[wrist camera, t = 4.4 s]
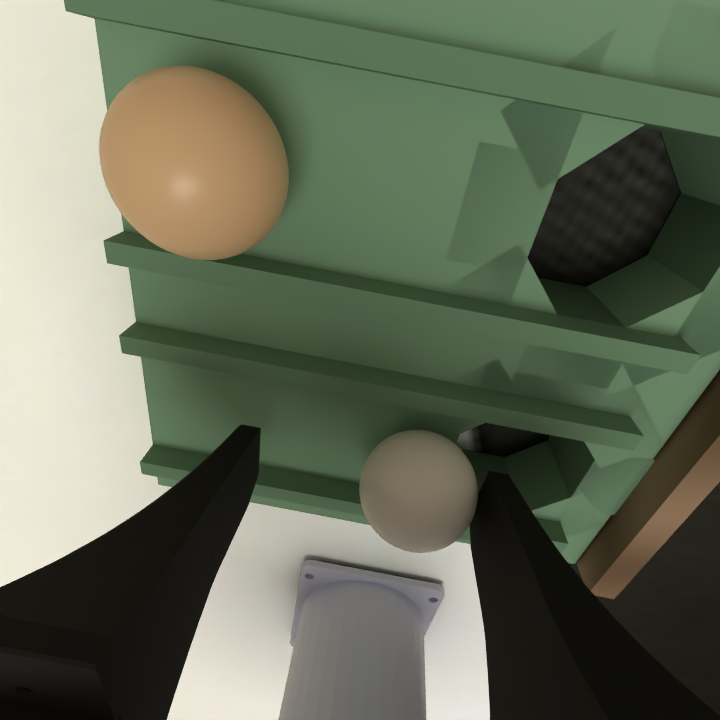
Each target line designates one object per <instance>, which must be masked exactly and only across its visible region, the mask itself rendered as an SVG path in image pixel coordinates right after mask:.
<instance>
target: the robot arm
mask: <svg viewBox="0 0 720 720" xmlns="http://www.w3.org/2000/svg"><path fill="white" fill-rule="evenodd" d="M260 434H261V428H259V427H253V426H248V425H243V424H241V425H240V426H238V427H237V428H236V429H235V430H234V431H233V432H232V433H231V434H230V435H229V436H228V437H227V438H226V439H225V440H224V441H223V442H222V443H221V444H220V445H219V446H218V447H217V448H216V449H215V450H214V451H213V452H212V453H211V454H210V455H209V456H208V457H207V458H206V459H205V460H203V461H202V462H201V463H200V464H199V465H198V466H197V467H196V468H195V469H194V470H192V471H191V472H190V473H189V474H188V475H186V476H185V477H184V478H183V479H182V480H180V481H179V482H178V483H177V484H176V485H174V486H173V487H172V488H171V489H169V490H168V491H167V492H166V493H164V494H163V495H162V496H160V497H159V498H158V499H156V500H155V501H154V502H152V503H151V504H149V505H148V506H147V507H145V508H144V509H142V510H141V511H140V512H138V513H137V514H135V515H134V516H132V517H131V518H129V519H127V520H126V521H124V522H123V523H121V524H120V525H118V526H117V527H115V528H114V529H112V530H110V531H109V532H107V533H105V534H104V535H102V536H100V537H99V538H97V539H95V540H93V541H92V542H90V543H88V544H86V545H84V546H82V547H81V548H79V549H77V550H75V551H73V552H72V553H70V554H68V555H66V556H64V557H63V558H61V559H59V560H57V561H55V562H53V563H51V564H49V565H47V566H45V567H43V568H40V569H38V570H36V571H34V572H32V573H30V574H28V575H26V576H24V577H22V578H19V579H17V580H15V581H13V582H11V583H9V584H6V585H4V586H2V587H0V720H167V716H168V713H169V710H170V707H171V704H172V701H173V697H174V694H175V691H176V688H177V685H178V682H179V679H180V676H181V673H182V670H183V667H184V664H185V661H186V658H187V655H188V652H189V649H190V646H191V643H192V640H193V637H194V635H195V632H196V629H197V626H198V623H199V620H200V617H201V614H202V612H203V609H204V606H205V603H206V600H207V598H208V595H209V592H210V589H211V586H212V584H213V582H214V579H215V577H216V574H217V572H218V570H219V568H220V565H221V563H222V561H223V559H224V557H225V555H226V552H227V550H228V548H229V546H230V544H231V542H232V539H233V537H234V535H235V533H236V531H237V529H238V527H239V524H240V522H241V520H242V518H243V516H244V513H245V511H246V509H247V507H248V505H249V502H250V499H251V496H252V493H253V490H254V487H255V484H256V481H257V478H258V475H259V458H260ZM470 542H471V551H472V557H473V564H474V570H475V576H476V582H477V587H478V593H479V599H480V605H481V611H482V617H483V624H484V631H485V640H486V654H487V667H488V684H489V702H490V720H720V716H719V715H718V714H717V713H716V712H714V711H713V710H712V709H711V708H710V707H709V706H707V705H706V704H705V703H704V702H703V701H702V700H700V699H699V698H698V697H697V696H696V695H694V694H693V693H692V692H691V691H690V690H689V689H687V688H686V687H685V686H684V685H683V684H682V683H681V682H679V681H678V680H677V679H676V678H675V677H674V676H673V675H672V674H671V673H670V672H669V671H668V670H666V669H665V668H664V667H663V666H662V665H661V664H660V663H659V662H658V661H657V660H656V659H655V658H654V657H653V656H651V655H650V654H649V653H648V652H647V651H646V650H645V649H644V648H643V647H642V646H641V645H640V644H639V643H638V642H637V641H636V640H635V639H634V638H633V637H632V636H631V635H630V634H629V633H628V631H627V630H626V629H625V628H624V627H623V626H622V625H621V624H620V623H619V622H618V621H617V620H616V619H615V618H614V617H613V616H612V615H611V614H610V613H609V611H608V610H607V609H606V608H605V607H604V606H603V605H602V604H601V603H600V601H599V600H598V599H597V598H596V597H595V596H594V594H593V593H592V592H591V591H590V590H589V588H588V587H587V586H586V585H585V584H584V583H583V581H582V580H581V579H580V578H579V576H578V575H577V574H576V573H575V571H574V570H573V569H572V568H571V566H570V565H569V564H568V562H567V561H566V560H565V558H564V557H563V556H562V554H561V553H560V552H559V550H558V549H557V548H556V546H555V545H554V543H553V542H552V541H551V539H550V538H549V536H548V535H547V533H546V532H545V530H544V529H543V527H542V526H541V525H540V523H539V522H538V520H537V519H536V517H535V515H534V514H533V512H532V511H531V509H530V508H529V506H528V505H527V503H526V502H525V500H524V498H523V497H522V495H521V494H520V492H519V491H518V489H517V487H516V486H515V484H514V483H513V481H512V480H511V478H510V476H509V475H508V474H503V473H498V472H492V471H489V472H488V474H487V476H486V478H485V480H484V482H483V485H482V487H481V489H480V491H479V493H478V502H477V507H476V512H475V514H474V517H473V520H472V522H471V523H470ZM443 597H444V588H443V587H442V586H441V585H439V584H436V583H431V582H425V581H420V580H415V579H410V578H404V577H399V576H394V575H389V574H383V573H378V572H373V571H368V570H362V569H357V568H352V567H347V566H342V565H336V564H331V563H326V562H321V561H315V560H306V561H304V562H303V564H302V569H301V575H300V582H299V588H298V595H297V601H296V608H295V615H294V621H293V628H292V634H291V641H290V644H291V645H292V646H293V647H294V648H293V653H292V658H291V663H290V667H289V672H288V677H287V682H286V686H285V691H284V696H283V701H282V705H281V710H280V715H279V720H426V689H425V654H424V635H425V633H426V631H427V629H428V627H429V625H430V623H431V621H432V619H433V617H434V615H435V613H436V611H437V609H438V607H439V605H440V603H441V601H442V599H443Z"/></svg>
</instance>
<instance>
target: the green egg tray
mask: <svg viewBox="0 0 720 720" xmlns="http://www.w3.org/2000/svg"><path fill="white" fill-rule="evenodd" d="M64 3H65V9H66V11H68V12H72V13H76V14H80V15H83V16H87V17H91V18H95V24H96V32H97V39H98V46H99V54H100V61H101V68H102V75H103V83H104V90H105V97H106V105H107V111H108V109H109V107H110V105H111V103H112V101H113V100H114V99H115V97H116V96H117V94H118V93H119V92H120V91H121V90H122V89H123V88H124V87H125V86H126V85H127V84H128V83H130V82H131V81H132V80H134V79H135V78H137V77H138V76H140V75H142V74H145V73H147V72H149V71H152V70H154V69H158V68H162V67H167V66H192V67H199V68H202V69H206V70H210V71H213V72H215V73H218V74H220V75H222V76H225V77H227V78H228V79H230V80H232V81H233V82H235V83H237V84H238V85H240V86H241V87H242V88H243V89H245V90H246V91H247V92H248V93H250V94H251V95H252V96H253V97H254V98H255V99H256V100H257V101H258V102H259V103H260V104H261V106H262V107H263V108H264V109H265V111H266V112H267V113H268V115H269V116H270V118H271V119H272V121H273V123H274V124H275V126H276V128H277V130H278V132H279V134H280V136H281V139H282V142H283V145H284V148H285V152H286V156H287V160H288V169H289V185H288V193H287V198H286V202H285V205H284V208H283V211H282V213H281V216H280V218H279V219H278V221H277V223H276V224H275V226H274V227H273V229H272V230H271V231H270V232H269V234H268V235H267V236H266V237H265V238H264V239H263V240H262V241H261V242H260V243H258V244H257V245H255V246H254V247H252V248H251V249H249V250H248V251H246V252H243V253H241V254H239V255H236V256H232V257H229V258H225V259H218V260H198V259H190V258H187V257H183V256H179V255H176V254H174V253H171V252H169V251H166V250H164V249H162V248H160V247H158V246H157V245H155V244H154V243H152V242H150V241H149V240H148V239H146V238H145V237H144V236H143V235H141V234H140V233H139V232H138V231H137V230H136V229H135V228H134V227H133V226H132V225H131V224H130V223H129V222H128V221H127V220H126V219H125V217H124V216H123V215H122V221H123V229H124V232H121V233H119V234H117V235H115V236H113V237H110V238H108V239H106V240H104V246H105V252H106V258H107V263H109V264H114V265H120V266H125V267H129V273H130V280H131V287H132V294H133V302H134V309H135V316H136V322H135V323H134V324H133V325H132V326H130V327H129V328H128V329H127V330H126V331H124V332H123V333H122V334H121V335H119V337H120V343H121V349H122V353H124V354H130V355H135V356H140V357H141V360H142V367H143V375H144V382H145V389H146V397H147V404H148V411H149V419H150V426H151V433H152V440H153V445H152V447H151V448H150V449H149V451H148V452H147V453H146V455H145V456H144V457H143V459H142V460H141V461H140V465H141V471H142V474H146V475H151V476H156V477H158V484H159V485H164V486H169V487H173V486H174V485H176V484H177V483H178V482H179V481H180V480H182V479H183V478H184V477H185V476H186V475H188V474H189V473H190V472H191V471H192V470H194V469H195V468H196V467H197V466H198V465H199V464H200V463H201V462H202V461H203V460H205V459H206V458H207V457H208V456H209V455H210V454H211V453H212V452H213V451H214V450H215V449H216V448H217V447H218V446H219V445H220V444H221V443H222V442H223V441H224V440H225V439H226V438H227V437H228V436H229V435H230V434H231V433H232V432H233V431H234V430H235V429H236V428H237V427H238V426H240V425H241V424H243V425H248V426H253V427H259V428H261V434H260V458H259V475H258V478H257V481H256V484H255V487H254V490H253V493H252V496H251V499H250V502H253V503H258V504H264V505H269V506H274V507H279V508H284V509H290V510H295V511H300V512H305V513H311V514H316V515H321V516H326V517H332V518H337V519H342V520H347V521H353V522H358V523H363V524H368V525H370V523H369V522H368V520H367V518H366V516H365V514H364V512H363V509H362V505H361V501H360V494H359V484H360V476H361V473H362V469H363V466H364V464H365V462H366V460H367V458H368V456H369V455H370V453H371V452H372V451H373V449H374V448H375V447H376V446H377V445H378V444H379V443H380V442H382V441H383V440H384V439H386V438H388V437H389V436H391V435H393V434H396V433H399V432H402V431H407V430H427V431H431V432H434V433H437V434H439V435H442V436H444V437H446V438H447V439H449V440H450V441H452V442H453V443H454V444H456V445H457V446H458V447H459V448H460V446H459V445H458V444H457V439H458V436H459V434H460V433H463V432H465V431H467V430H470V429H472V428H474V427H477V426H479V425H481V424H483V423H490V424H495V425H501V426H506V427H511V428H516V429H521V430H527V431H532V432H537V433H542V434H548V435H550V436H549V438H548V440H547V441H544V442H542V443H539V444H537V445H534V446H532V447H529V448H527V449H524V450H522V451H519V452H517V453H514V454H511V455H509V456H506V457H501V456H496V455H490V454H485V453H480V452H475V451H469V450H464V449H461V448H460V449H461V450H462V452H463V453H464V454H465V455H466V457H467V458H468V460H469V462H470V463H471V465H472V467H473V470H474V472H475V476H476V479H477V485H478V493H479V491H480V489H481V487H482V485H483V482H484V480H485V478H486V476H487V474H488V472H489V471H492V472H498V473H503V474H508V475H509V476H510V478H511V480H512V481H513V483H514V484H515V486H516V487H517V489H518V491H519V492H520V494H521V495H522V497H523V498H524V500H525V502H526V503H527V505H528V506H529V508H530V509H531V511H532V512H533V514H534V515H535V517H536V519H537V520H538V522H539V523H540V525H541V526H542V527H543V529H544V530H545V532H546V533H547V535H548V536H549V538H550V539H551V541H552V542H553V543H554V545H555V546H556V548H557V549H558V550H559V552H560V553H561V554H562V556H563V557H564V558H565V560H566V561H567V562H568V563H572V564H575V563H576V562H577V560H578V559H579V558H580V556H581V555H582V554H583V552H584V551H585V549H586V548H587V547H588V545H589V544H590V543H591V541H592V540H593V539H594V537H595V536H596V535H597V533H598V532H599V531H600V529H601V528H602V527H603V526H604V524H605V523H606V521H607V520H608V519H609V517H610V516H611V515H615V513H616V512H617V511H618V509H619V508H620V507H621V505H622V504H623V503H624V501H625V500H626V499H627V497H628V496H629V495H630V493H631V492H632V491H633V490H634V488H635V487H636V486H637V484H638V483H639V482H640V480H641V479H642V478H643V476H644V475H645V474H646V472H647V471H648V470H649V468H650V467H651V466H652V464H653V463H654V462H655V459H654V457H655V456H656V454H657V453H658V452H659V450H660V449H661V448H662V446H664V444H665V442H666V441H667V440H668V438H669V437H670V436H671V434H672V433H673V432H674V430H675V429H676V428H677V426H678V425H679V423H680V422H681V421H682V419H683V418H684V417H685V415H686V414H687V413H688V411H689V410H690V409H691V407H692V406H693V405H694V403H695V402H696V401H697V399H698V398H699V397H700V395H701V394H702V393H703V391H704V390H705V389H706V387H707V386H708V385H709V383H710V382H711V381H712V379H713V378H714V377H715V375H716V374H717V373H718V371H719V370H720V0H64ZM638 128H640V129H645V130H651V131H656V132H661V134H662V137H663V140H664V143H665V146H666V149H667V152H668V155H669V158H670V161H671V164H672V167H673V170H674V173H675V176H676V179H677V182H678V185H679V188H680V191H681V194H680V196H679V198H678V200H677V201H676V203H675V205H674V207H673V209H672V211H671V213H670V214H669V216H668V218H667V220H666V222H665V224H664V225H663V227H662V229H661V231H660V233H659V235H658V237H657V238H656V240H655V242H654V244H653V246H652V248H651V250H650V251H649V253H648V255H647V256H645V257H643V258H641V259H639V260H637V261H636V262H634V263H632V264H630V265H628V266H626V267H624V268H622V269H620V270H618V271H616V272H614V273H612V274H610V275H608V276H606V277H605V278H603V279H601V280H599V281H597V282H595V283H593V284H591V285H589V286H587V287H585V286H580V285H575V284H570V283H564V282H559V281H554V280H549V279H544V278H538V277H537V275H536V273H535V271H534V269H533V268H532V266H531V264H530V262H529V260H528V258H527V257H528V255H529V252H530V250H531V247H532V244H533V242H534V239H535V237H536V234H537V231H538V229H539V226H540V224H541V221H542V219H543V216H544V213H545V211H546V208H547V206H548V203H549V200H550V198H551V195H552V193H553V190H554V187H555V185H556V182H557V180H558V179H559V178H560V177H562V176H563V175H565V174H567V173H568V172H570V171H571V170H573V169H575V168H576V167H578V166H579V165H581V164H583V163H584V162H586V161H587V160H589V159H591V158H592V157H594V156H595V155H597V154H598V153H600V152H602V151H603V150H605V149H606V148H608V147H610V146H611V145H613V144H614V143H616V142H618V141H619V140H621V139H622V138H624V137H626V136H627V135H629V134H630V133H632V132H634V131H635V130H637V129H638ZM121 214H122V213H121ZM456 541H457V542H463V543H468V544H471V542H470V525H469V527H468V528H467V530H466V531H465V532H464V533H463V535H462V536H461V537H460V538H459V539H457V540H456Z"/></svg>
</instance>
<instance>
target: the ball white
mask: <svg viewBox="0 0 720 720" xmlns="http://www.w3.org/2000/svg"><path fill="white" fill-rule="evenodd" d="M359 494H360V501H361V505H362V509H363V512H364V514H365V516H366V518H367V520H368V522H369V523H370V525H371V526H372V528H373V529H374V530H375V531H376V533H377V534H378V535H379V536H380V537H381V538H383V539H384V540H385V541H387V542H388V543H389V544H391V545H393V546H395V547H397V548H400V549H402V550H405V551H410V552H417V553H425V552H432V551H437V550H440V549H442V548H445V547H447V546H449V545H450V544H452V543H453V542H455V541H456V540H457V539H459V538H460V537H461V536H462V535H463V533H464V532H465V531H466V530H467V528H468V527H469V525H470V523H471V522H472V520H473V517H474V514H475V512H476V507H477V502H478V485H477V479H476V476H475V472H474V470H473V467H472V465H471V463H470V462H469V460H468V458H467V457H466V455H465V454H464V453H463V452H462V450H461V449H460V448H459V447H458V446H457V445H456V444H454V443H453V442H452V441H450V440H449V439H447V438H446V437H444V436H442V435H439V434H437V433H434V432H431V431H427V430H407V431H402V432H399V433H396V434H393V435H391V436H389V437H388V438H386V439H384V440H383V441H382V442H380V443H379V444H378V445H377V446H376V447H375V448H374V449H373V451H372V452H371V453H370V455H369V456H368V458H367V460H366V462H365V464H364V466H363V469H362V473H361V476H360V484H359Z"/></svg>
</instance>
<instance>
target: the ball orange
mask: <svg viewBox="0 0 720 720" xmlns="http://www.w3.org/2000/svg"><path fill="white" fill-rule="evenodd" d="M99 153H100V163H101V168H102V173H103V177H104V180H105V183H106V186H107V189H108V191H109V193H110V195H111V197H112V199H113V201H114V203H115V205H116V206H117V208H118V209H119V211H120V212H121V213H122V215H123V216H124V217H125V219H126V220H127V221H128V222H129V223H130V224H131V225H132V226H133V227H134V228H135V229H136V230H137V231H138V232H139V233H140V234H141V235H143V236H144V237H145V238H146V239H148V240H149V241H150V242H152V243H154V244H155V245H157V246H158V247H160V248H162V249H164V250H166V251H169V252H171V253H174V254H176V255H179V256H183V257H187V258H190V259H198V260H218V259H225V258H229V257H232V256H236V255H239V254H241V253H243V252H246V251H248V250H249V249H251V248H252V247H254V246H255V245H257V244H258V243H260V242H261V241H262V240H263V239H264V238H265V237H266V236H267V235H268V234H269V232H270V231H271V230H272V229H273V227H274V226H275V224H276V223H277V221H278V219H279V218H280V216H281V213H282V211H283V208H284V205H285V202H286V198H287V193H288V185H289V169H288V160H287V156H286V152H285V148H284V145H283V142H282V139H281V136H280V134H279V132H278V130H277V128H276V126H275V124H274V123H273V121H272V119H271V118H270V116H269V115H268V113H267V112H266V111H265V109H264V108H263V107H262V106H261V104H260V103H259V102H258V101H257V100H256V99H255V98H254V97H253V96H252V95H251V94H250V93H248V92H247V91H246V90H245V89H243V88H242V87H241V86H240V85H238V84H237V83H235V82H233V81H232V80H230V79H228V78H227V77H225V76H222V75H220V74H218V73H215V72H213V71H210V70H206V69H202V68H199V67H192V66H167V67H162V68H158V69H154V70H152V71H149V72H147V73H145V74H142V75H140V76H138V77H137V78H135V79H134V80H132V81H131V82H130V83H128V84H127V85H126V86H125V87H124V88H123V89H122V90H121V91H120V92H119V93H118V94H117V96H116V97H115V99H114V100H113V101H112V103H111V105H110V107H109V109H108V111H107V113H106V115H105V118H104V121H103V125H102V128H101V134H100V144H99Z"/></svg>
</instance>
